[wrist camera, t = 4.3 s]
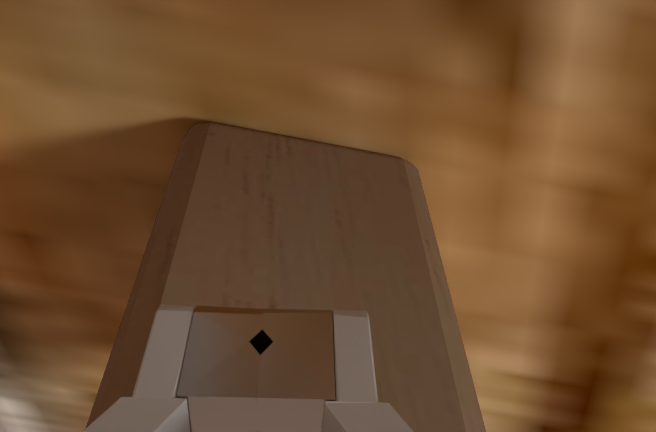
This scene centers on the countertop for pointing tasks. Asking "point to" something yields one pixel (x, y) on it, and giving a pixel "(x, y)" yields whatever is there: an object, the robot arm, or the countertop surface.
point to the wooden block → (305, 261)
